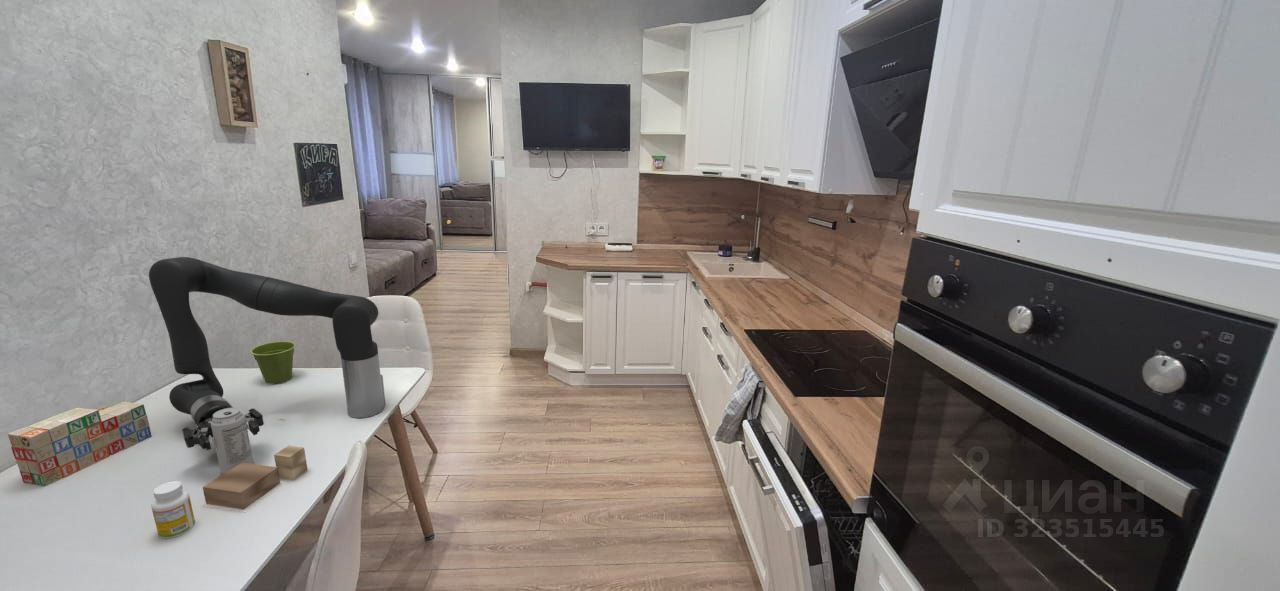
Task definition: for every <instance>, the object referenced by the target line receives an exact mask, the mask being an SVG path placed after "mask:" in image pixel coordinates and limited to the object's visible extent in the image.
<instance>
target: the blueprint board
mask: <svg viewBox="0 0 1280 591" xmlns="http://www.w3.org/2000/svg"><path fill="white" fill-rule="evenodd" d="M286 483H287V481H284V480H280V484H278V485H277V486H276V487H274V488H273V489H272V490H270V491H269V492H267V493H266V494H265V495H263V496H262V497H260V498H259V499H258V500H256V501H255V502H254V503H252V504H251V505H249V506H248V507H247V508H245V509H237V508H231V507H224V506H218V505H211V504H206V503H205V504H203V505H202V507H207V508H212V509H213V508H214V509H219V510H224V511H225V510H226V511H233V512H238V513H239V512H240V513H247V512H248V511H250V510H251V509H252V508H253V507H256V505H258V504H259V503H260V502H262V501H263V500H265V499H266V498H267V497H269V496H270V495H271V494H272V493H274V492H276V490H278V489H279V488H281V487H282V486H284V485H285V484H286Z"/></svg>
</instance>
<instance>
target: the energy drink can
mask: <svg viewBox="0 0 1280 591" xmlns="http://www.w3.org/2000/svg"><path fill="white" fill-rule="evenodd" d="M244 414H245V413H243V412H242V411H241V408H239V407H236V406H234V407H233V406H232V408H226V409H222V410H219V411H217V412H215V413H214V414H213V419H212V421H211V428H212V432H213V437H214V438H213V441H214V446H215V451H216V452H215V453H216V455H217V461H218V465H219V470H220V474H221V475H223V474H224V473H226V472H228V471H229V470H231V469H232V468H234V467H236V466H237V465H239V464H240V463H249V464H254V458H253V453H252V449H251V448H252V447H251V442H250V441H251V440H250V438H249V433H248V432H249V431H248V430H247V425H248V424H247V425H246V420H245V415H244Z"/></svg>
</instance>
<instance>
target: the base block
mask: <svg viewBox="0 0 1280 591" xmlns="http://www.w3.org/2000/svg"><path fill="white" fill-rule="evenodd" d="M280 481H281V479H280V478H279V473H278V467H276V466H269V465H262V464H255V463H253V464H249V463H240V464H239V465H237V466H236V467H234V468H232V469H231V470H229V471H228V472H226V473H224V474H221V475H219V476H218V477H216V478H214V479H213V480H211V481H210V482H208V483H206V484H205V485H203V486H202V491H203V496H204V500H205V504H211V505H218V506H224V507H231V508H237V509H245V508H247V507H248V506H249V505H251V504H252V503H254V502H255V501H256V500H258V499H259V498H260V497H262V496H263V495H265V494H266V493H267V492H269V491H270V490H272V489H273V488H274V487H276V486H277V485H278V484H280Z"/></svg>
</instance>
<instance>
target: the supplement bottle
mask: <svg viewBox="0 0 1280 591" xmlns="http://www.w3.org/2000/svg"><path fill="white" fill-rule="evenodd" d="M152 494H153V497H154V499H153V501H152V502H151V511H152V516H153V518H154V523H155V526H156V527H155V528H156V530H157V535H158V536H159V537H160V538H161V539H171V538H172V539H173V538H174V537H178V536H182V535H183V534H185V533H188V532H189V531H190V530H191V529H193V528H194V527H195V525H196V519H195V515H194V511H193V507H192V502H191V498H190V495H189V494H190V493H189V492H188V491H187V490H184V489H183V485H182V482H181V481H180V480H174V481H173V480H172V481H168V482H165V483H161V484H160V485H158V486H156V488H154V489H153V493H152Z"/></svg>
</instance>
